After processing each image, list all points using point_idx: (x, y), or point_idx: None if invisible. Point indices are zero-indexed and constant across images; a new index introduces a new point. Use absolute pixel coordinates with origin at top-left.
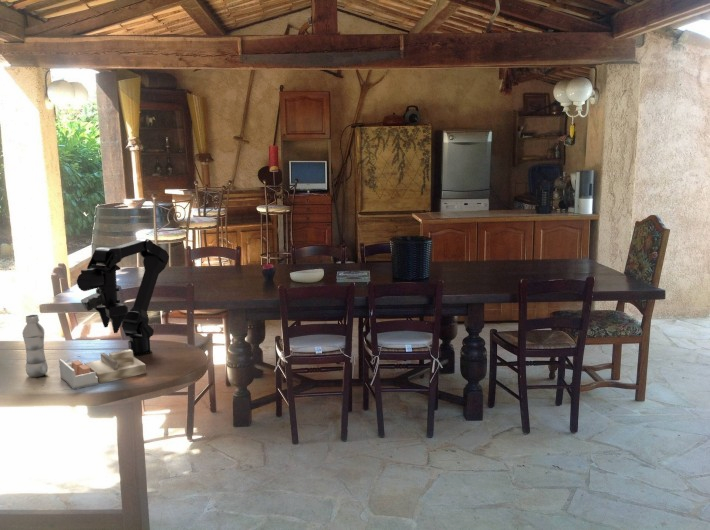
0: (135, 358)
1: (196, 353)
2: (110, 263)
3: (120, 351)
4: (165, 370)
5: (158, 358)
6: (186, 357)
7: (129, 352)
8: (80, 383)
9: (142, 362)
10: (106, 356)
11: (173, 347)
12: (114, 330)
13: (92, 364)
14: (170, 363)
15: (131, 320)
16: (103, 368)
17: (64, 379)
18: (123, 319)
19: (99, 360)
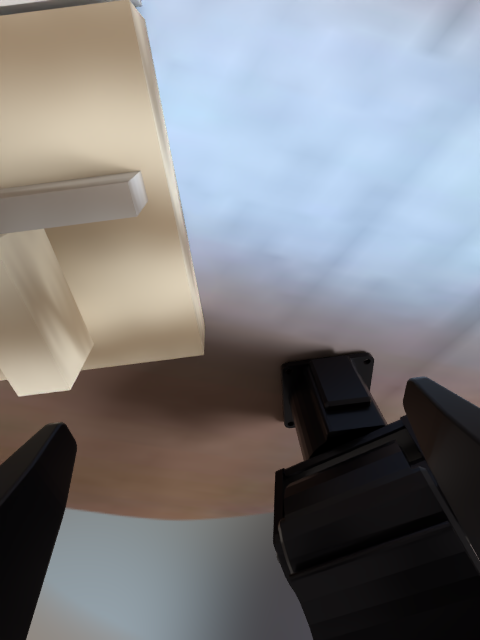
0: (96, 365)
1: (183, 514)
2: None
3: (27, 329)
4: (10, 418)
5: (194, 425)
6: (153, 489)
7: (9, 372)
8: None
9: (2, 379)
10: (7, 210)
11: None
12: (14, 460)
13: (55, 72)
14: (102, 445)
15: (354, 580)
16: None
17: None
18: (450, 548)
19: (151, 160)
